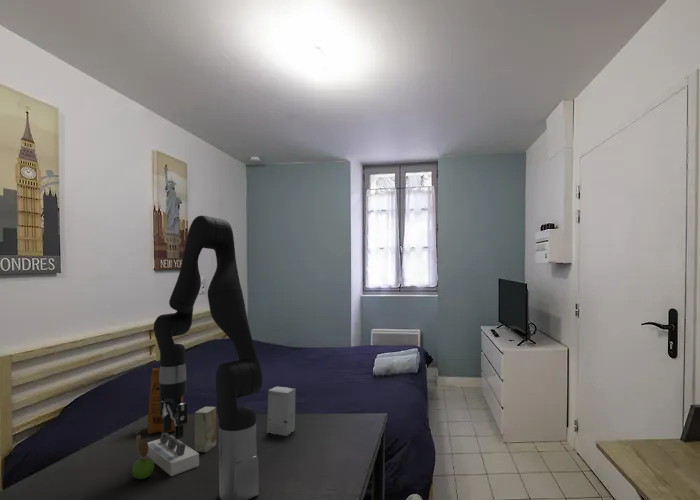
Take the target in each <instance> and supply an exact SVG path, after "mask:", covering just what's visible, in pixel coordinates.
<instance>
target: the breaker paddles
mask: <svg viewBox="0 0 700 500" xmlns="http://www.w3.org/2000/svg"><path fill="white" fill-rule="evenodd" d="M160 433H161V432H160ZM171 436H172V435H170V434H169V432H168V433H161V434H160V438H159V439H160V442H162V443H166V442H168V446H167V447H169V448H175V447H176V446H177V448H176V453H177V454H184V451H185V445H186V444H185V443H184V444H183V442H182V441H180V440H179V439H176V438H175V437H174V436H173V437H174V438H173V437H171ZM168 440H169V441H168ZM178 440H179V441H180V442H179V441H178ZM181 442H182V443H181Z"/></svg>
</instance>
